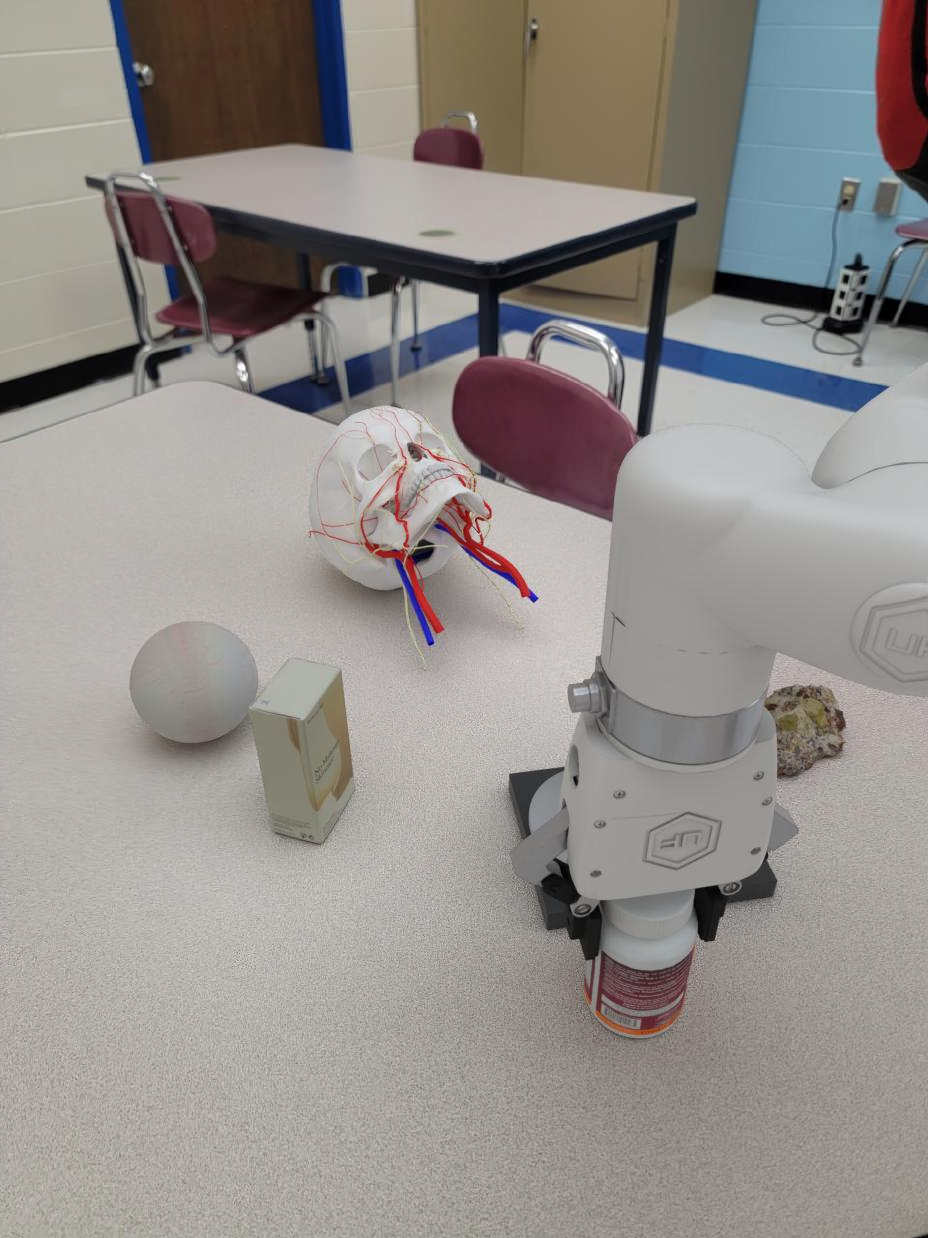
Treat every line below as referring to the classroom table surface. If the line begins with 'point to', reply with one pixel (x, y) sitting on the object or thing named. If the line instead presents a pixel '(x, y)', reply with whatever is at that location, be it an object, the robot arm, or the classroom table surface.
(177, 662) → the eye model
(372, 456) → the anatomical skull model
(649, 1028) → the pill bottle
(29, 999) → the classroom table surface
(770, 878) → the scale
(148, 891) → the classroom table surface
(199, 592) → the classroom table surface
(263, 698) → the cosmetic box
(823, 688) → the mineral rock
